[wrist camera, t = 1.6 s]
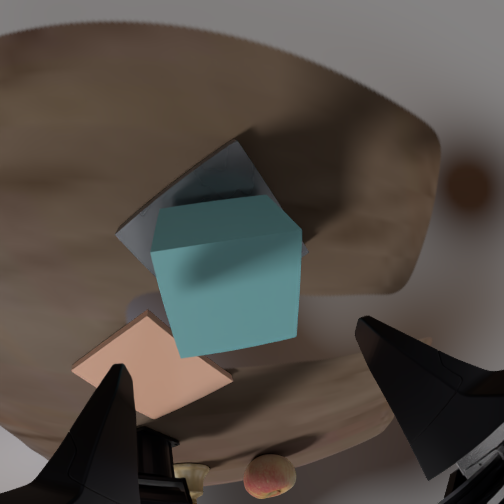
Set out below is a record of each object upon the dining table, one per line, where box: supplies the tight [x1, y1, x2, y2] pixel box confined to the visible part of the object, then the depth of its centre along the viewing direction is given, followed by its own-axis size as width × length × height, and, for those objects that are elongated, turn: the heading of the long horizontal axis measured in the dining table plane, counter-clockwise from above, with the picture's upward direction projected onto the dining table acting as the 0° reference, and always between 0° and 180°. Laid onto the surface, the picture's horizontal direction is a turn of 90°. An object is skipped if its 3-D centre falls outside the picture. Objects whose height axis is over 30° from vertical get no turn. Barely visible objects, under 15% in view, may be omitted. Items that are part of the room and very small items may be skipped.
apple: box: [244, 454, 296, 499], centre depth 35 cm, size 9×9×8 cm
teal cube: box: [150, 195, 302, 358], centre depth 14 cm, size 6×6×5 cm
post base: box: [115, 139, 309, 277], centre depth 16 cm, size 9×9×6 cm
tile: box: [71, 310, 233, 419], centre depth 22 cm, size 11×11×1 cm
